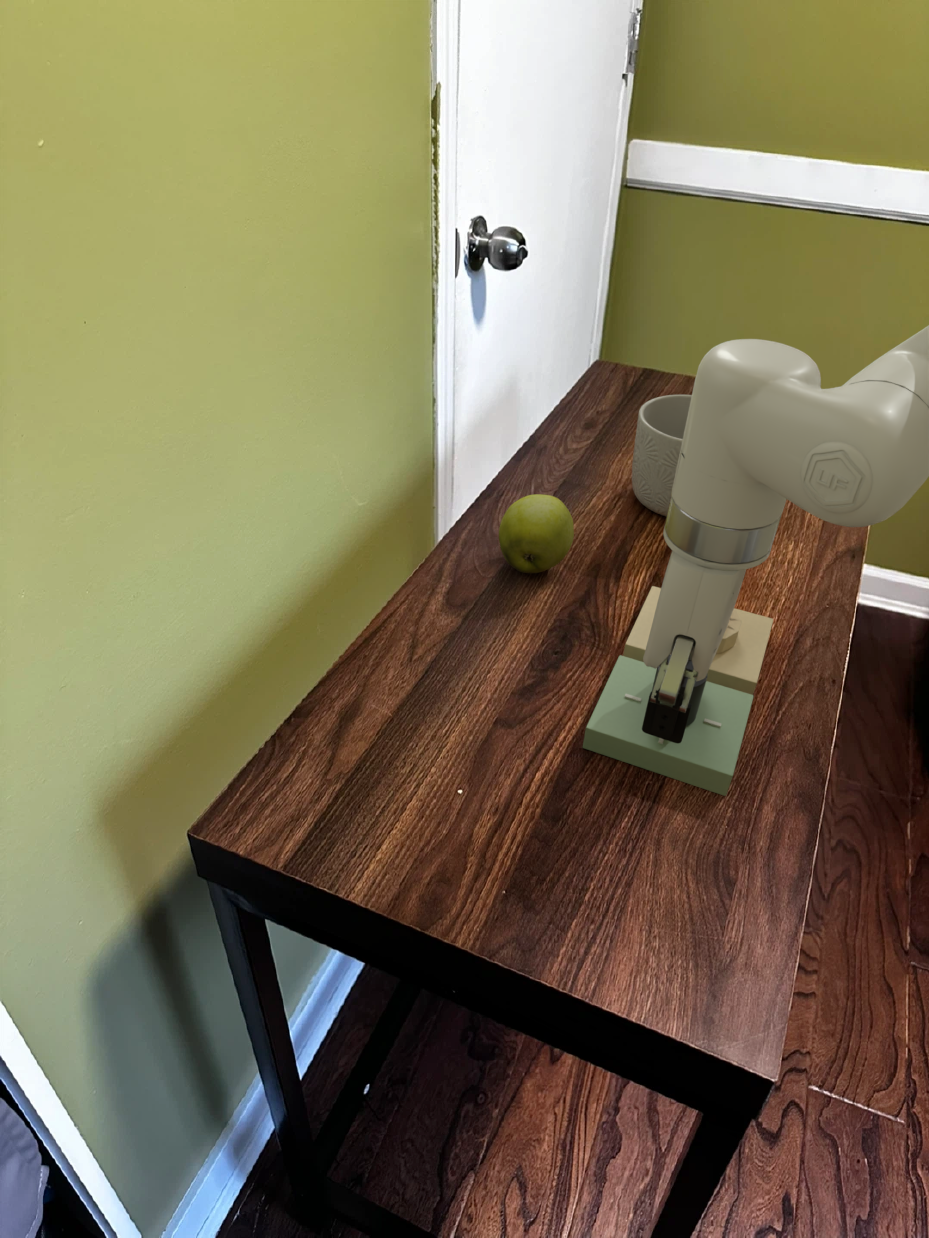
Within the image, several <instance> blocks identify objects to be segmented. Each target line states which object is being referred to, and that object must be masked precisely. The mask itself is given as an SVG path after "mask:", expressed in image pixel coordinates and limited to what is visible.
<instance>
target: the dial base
mask: <svg viewBox="0 0 929 1238" xmlns="http://www.w3.org/2000/svg"><path fill="white" fill-rule="evenodd" d="M656 670H657V668H656V669H655V668H652V667H650V666H649V667H648V666H646V665H645V663H644V662H641V661H638V660H635V659H631V658H628V657H625V656H623V655H622V654H620V655H618V658H617V659H616V662H615V664H614V666H613V668H612V670H611V673H610V674H609V676H608V678H607V681H606V684H605V686H604V688H603V690H602V692H601V694H600V696H599V698H598V700H597V703H596V705H595V707H594V709H593V712H592V714H591V716H590V718H589V720H588V722H587V724H586V727H585V731H584V737H583V742H582V749H585V750H588V751H590V752H594V753H597V754H599V755H602V756H606V757H608V758H611V759H613V760H618V761H620V762H623V763H626V764H629V765H632V766H635V767H637V768H640V769H644V770H646V771H650V772H652V773H656V774H659V775H661V776H663V777H666V778H667V777H668V778H670V779H674V780H676V781H679V782H682V783H685V784H687V785H690V786H694V787H696V788H700V789H703V790H704V791H705V790H706V791H709V792H711V793H714V794H717V795H721V796H722V797H723V796H724V797H726V796H727V795H728V791H729V789H730V786H731V784H732V783H731V782H732V780H733V778H734V773H735V770H736V767H737V761H738V759H739V754H740V750H741V746H742V744H743V739H744V735H745V732H746V728H747V724H748V719H749V717H750V712H751V709H752V705H753V702H754V701H753V700H754V697H755V695H754V694H753V695H751V694H748V693H744V692H741V691H738V690H734V689H731V688H728V687H724V686H721V685H718V684H714V683H711V682H708V681H706V684H705V687H704V691H703V694H702V698H701V701H700V705H699V708H698V712H697V715H696V718H695V720H694V722H692V723H691V724H690V725H688V726H686V728H685V732H684V736H683V739H682V742H681V743H674V742H671V741H668V740H665V739H662V738H659V737H656V736H653V735H649V734H646V733H644V732H643V731H642V725H643V721H644V717H645V712H646V708H647V704H648V699H649V695H650V693H651V692H652V687H653V683H654V679H655V674H656Z"/></svg>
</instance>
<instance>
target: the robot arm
mask: <svg viewBox="0 0 929 1238" xmlns="http://www.w3.org/2000/svg"><path fill="white" fill-rule="evenodd" d="M821 376H822V375H821V371H820V369H819V366H818V364H817V363H816V361H814V359H812V357H810V355H808V354H807V353H805V351H802V350H800V349H798V348H796V347H794V346H791V345H787V344H785V343H782V342H777V341H773V340H768V339H761V338H760V339H759V338H741V339H739V338H737V339H731V340H727V341H724V342H721V343H719V344H717V345H714V346H713V347H711V348H710V349H709V350H708V351H707V352H706V354H704V356H703V358H701V361H700V362H699V365H698V367H697V371H696V375H695V379H694V383H693V388H692V393H691V395H692V397H691V402H690V407H689V411H688V416H687V421H686V426H685V431H684V435H683V440H682V445H681V450H680V454H679V459H678V464H677V469H676V473H675V478H674V483H673V488H672V493H671V497H670V502H669V507H668V512H667V516H665V522H664V527H663V530H662V531H663V533H662V534H663V535H662V536H663V539H664V542H665V544H666V545H667V546H668V548H669V549H670V550H671V553H670V557H669V559H668V563H667V566H666V569H665V573H664V577H663V580H662V585H661V587H660V588H661V591H660V595H659V599H658V603H657V607H656V610H655V615H654V619H653V623H652V627H651V631H650V634H649V638H648V642H647V646H646V650H645V653H644V657H643V661H644V663H645V665H646V666H648V667H649V666H650V667H652V668H655V669H656V668H657V667H658V666H659V665H660V669H659V672H658V675H657V679H656V682H655V685H654V689H653V692H651V693H650V695H649V699H648V704H647V708H646V712H645V717H644V721H643V725H642V731H643V732H644V733H646V734H649V735H653V736H656V737H659V738H662V739H665V740H668V741H671V742H674V743H681V742H682V739H683V736H684V732H685V728H686V725H687V721H688V718H689V714H690V710H691V707H692V704H689V701H690V697H691V694H692V691H693V687H694V684H695V681H700V680H702V679H704V678H705V677H706V675H707V673H708V670H709V668H710V666H711V664H712V661H713V659H714V657H715V655H716V652H717V650H718V648H719V645H720V643H721V641H722V638H723V636H724V633H725V631H726V628H727V626H728V623H729V620H730V618H731V615H732V612H733V610H734V608H735V607H736V604H737V601H738V598H739V594H740V591H741V589H742V585H743V581H744V578H745V577H746V576H745V575H746V572H747V570H748V569H753V568H755V567H758V566H760V565H762V563H764V562H766V561H767V559H768V558H769V557H770V555H771V551H772V547H773V544H774V542H775V538H776V535H777V532H778V529H779V525H780V521H781V518H782V515H783V513H784V509H785V506H786V503H787V500H788V501H789V502H790V503H792V504H794V505H795V506H796V507H798V508H799V509H801V510H803V511H805V512H807V514H810V515H812V516H814V517H816V518H817V519H820V520H822V521H824V522H827V523H830V524H832V525H836V526H841V527H846V528H863V527H865V528H866V527H869V526H874V525H876V524H879V523H882V522H885V521H886V520H888V519H889V518H891V517H892V516H894V515H895V514H896V513H898V512H899V511H900V510H901V509H902V508H904V507H905V505H906V504H907V503H908V502H909V501H910V500H911V498H912V497H913V496H914V495H915V494H916V493H917V491H918V490H919V489H920V488H921V487H922V486H923V485H924V484H925V482H926V481H927V480H928V478H929V324H928V325H927V326H925V327H924V328H923V329H921V330H920V331H918V332H916V333H915V334H913V335H912V336H910V337H908V338H907V339H906V340H904V341H902V342H900V344H898V345H896V346H895V347H893V348H891V349H889V350H888V351H887V352H885V353H884V354H882V355H881V356H879V357H877V358H876V359H875V360H874V361H872V362H871V363H869V364H868V365H866V366H865V367H864V368H863V369H860V371H858V372H857V373H856V374H855V375H853V376H852V377H850V379H848V380H847V381H846V382H844V384H842V385H841V386H835V387H830V388H822V387H821V386H822V377H821ZM670 654H671V658H670V661H669V663H668V660H669V656H670ZM689 660H691V661H692V663H693V667H694V669H693V670H690V669H687V668H686V667H687V664H688V661H689ZM683 677H685V678H688V681H687V684H686V688H685V691H684V694H683V695H682V694H681V693H679V690H680V686H681V682H682V679H683ZM696 678H697V679H696Z"/></svg>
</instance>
